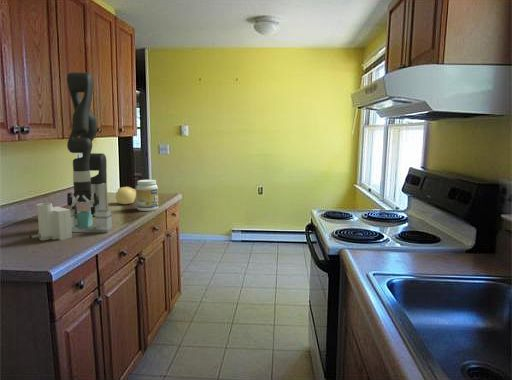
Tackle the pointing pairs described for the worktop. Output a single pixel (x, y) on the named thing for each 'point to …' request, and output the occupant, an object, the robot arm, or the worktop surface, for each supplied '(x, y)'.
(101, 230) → the rail
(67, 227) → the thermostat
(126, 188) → the pale yellow ball
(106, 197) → the robot arm
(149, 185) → the supplement tub
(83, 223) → the block
